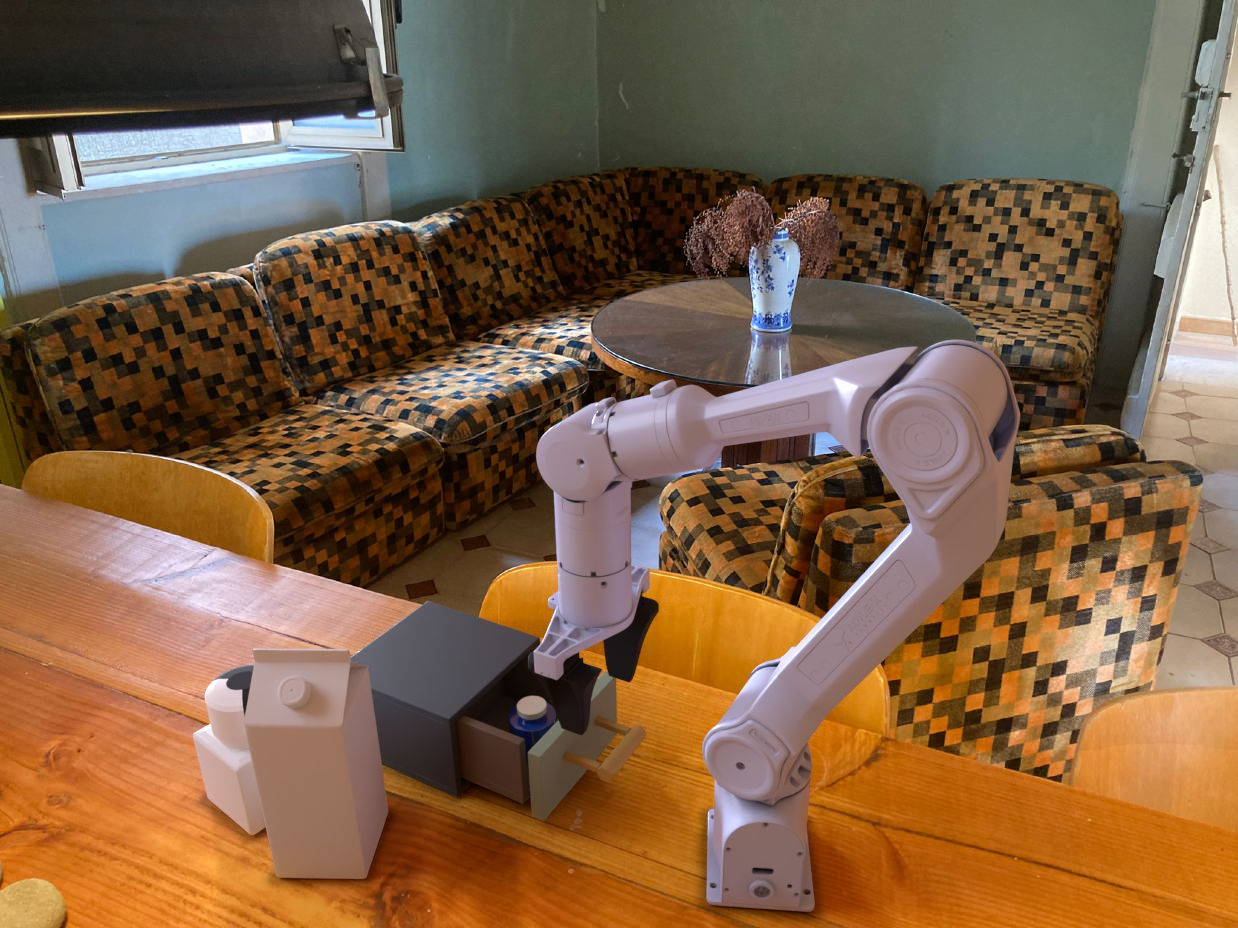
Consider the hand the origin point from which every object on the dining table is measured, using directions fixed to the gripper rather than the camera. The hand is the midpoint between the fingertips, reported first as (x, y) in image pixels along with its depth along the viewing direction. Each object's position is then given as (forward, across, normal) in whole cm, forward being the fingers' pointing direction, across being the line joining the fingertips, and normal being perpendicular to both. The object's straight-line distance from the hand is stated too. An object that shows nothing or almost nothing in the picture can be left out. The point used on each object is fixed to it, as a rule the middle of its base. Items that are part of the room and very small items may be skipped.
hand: (598, 702), depth 80 cm
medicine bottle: (+10, +14, -25) cm, 30 cm away
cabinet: (+9, 0, -17) cm, 19 cm away
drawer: (+9, 0, -6) cm, 10 cm away
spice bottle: (+8, 0, -7) cm, 10 cm away
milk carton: (+10, +16, -16) cm, 24 cm away
